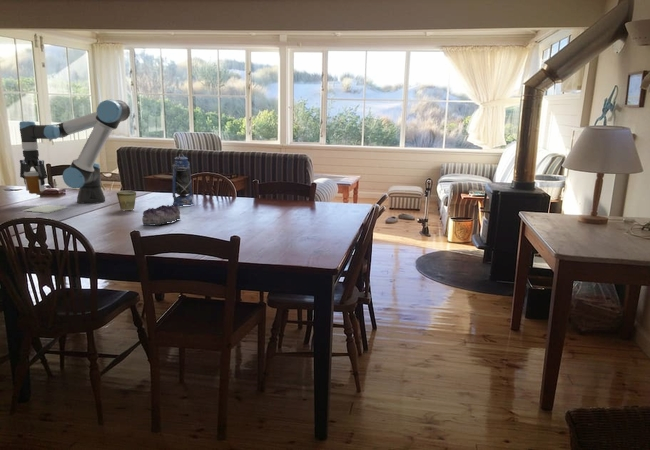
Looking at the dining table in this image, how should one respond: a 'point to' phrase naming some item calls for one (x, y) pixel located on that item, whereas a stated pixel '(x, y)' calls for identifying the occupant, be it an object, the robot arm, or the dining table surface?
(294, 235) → the dining table surface
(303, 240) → the dining table surface
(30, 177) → the disposable coffee cup
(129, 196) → the yellow green plant pot
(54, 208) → the sage placemat
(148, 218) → the geode
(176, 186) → the lantern
